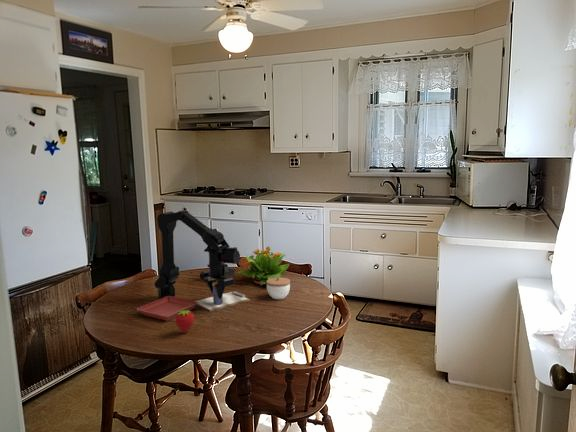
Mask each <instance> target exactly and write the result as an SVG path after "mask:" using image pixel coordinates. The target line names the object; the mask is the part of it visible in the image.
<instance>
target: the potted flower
mask: <svg viewBox="0 0 576 432" xmlns="http://www.w3.org/2000/svg"><path fill="white" fill-rule="evenodd" d="M252 253H253V254H252V255H249V256H248V255H245V258H246V260H247V262H248V263H249V264H250V265H249V268H246V269H241V270H239V271H237V273H238V274H240V275H244V276H246V277H248V278H252V280H253V282H254V283H255V284H257V285H260V286H263V285H267V284H266V281H267V280H268V279H270V278H276V277H282V276H283V277H284V275H285V273H286V271H287V269H289V266H290V263H285V264H282V262H283V258H284V257H285V256H287V254H284V253H281V252H275V253H274V252H273V251H271V246H266V248H265V249H262V250H260V249H258V248H257V249H256V250H253V252H252Z"/></svg>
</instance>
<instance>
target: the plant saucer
mask: <svg viewBox="0 0 576 432" xmlns="http://www.w3.org/2000/svg"><path fill="white" fill-rule="evenodd" d="M195 301H196V300H190V299H185V298H182V297H176V296H174V297H172V296H166V297H164V298H161V299H157V300H155V301H152V302H148V303H147V304H145V305H142V306H139V307H137V308H136V310H137V312H138V313H140V314H142V316H146V317H150V318H153V319H154V318H155V319H159V320H162V321H167V322H169V321H171V320H173V319H176V317H177V316H178V313H181V312H179V311H183V310H184V311H187V310H188V311H192V310H194V308H195V307H196V306H198V305H197V303H198V302H195ZM185 307H186V308H185ZM184 308H185V309H184Z"/></svg>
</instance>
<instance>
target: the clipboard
mask: <svg viewBox="0 0 576 432" xmlns="http://www.w3.org/2000/svg"><path fill="white" fill-rule="evenodd" d="M222 296H223V303H222V304H213V295H212V296H209V297H205V298H202V299H198V300H194V301H195V302H198V303H197V305H196V306H198V307H200V308H202V309H204V310H206V311H208V312H211V313H212V312H214V311H215V312H216V311H218V310H222V309H224V308H229V307H232V306H235V305H239V304H243V303H246V302H249V301H250V300H251V299H250V298H248V297H246V295H245V294H243V293H241V292H238V291H236V290H234V291H228V292H223V295H222Z"/></svg>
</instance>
